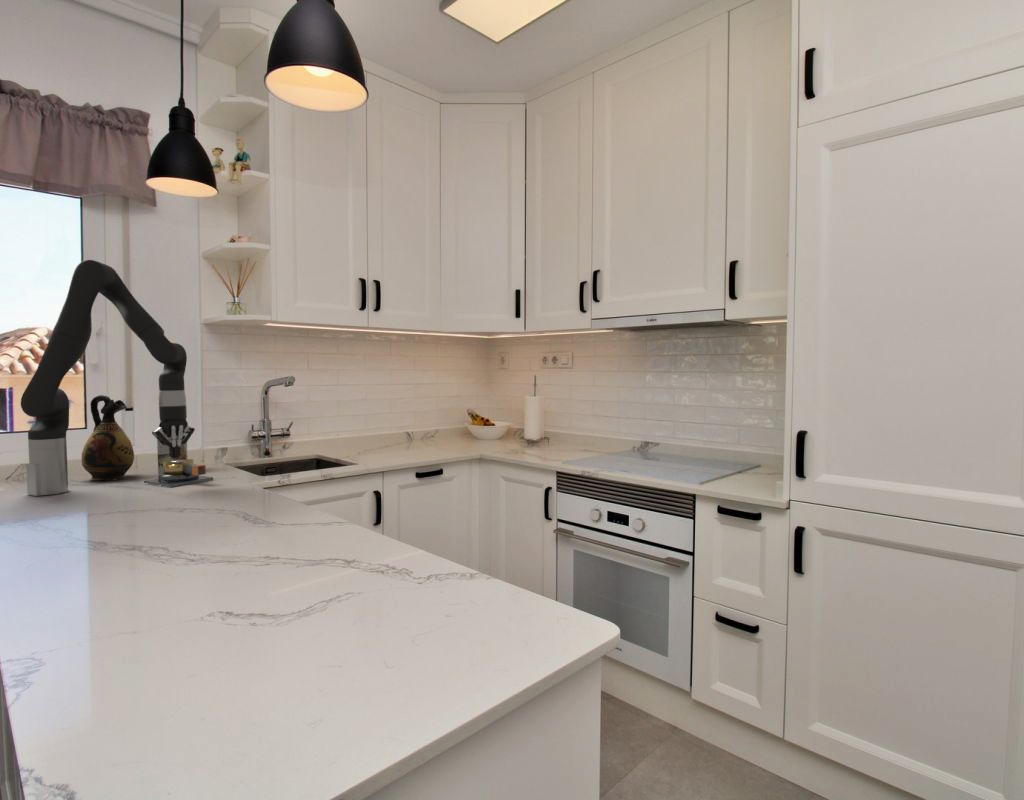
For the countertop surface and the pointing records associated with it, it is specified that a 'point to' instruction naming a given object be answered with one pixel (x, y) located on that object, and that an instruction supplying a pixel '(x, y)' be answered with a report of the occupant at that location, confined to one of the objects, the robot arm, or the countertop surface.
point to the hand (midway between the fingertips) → (175, 458)
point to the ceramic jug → (107, 443)
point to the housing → (177, 478)
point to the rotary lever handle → (183, 468)
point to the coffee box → (164, 454)
